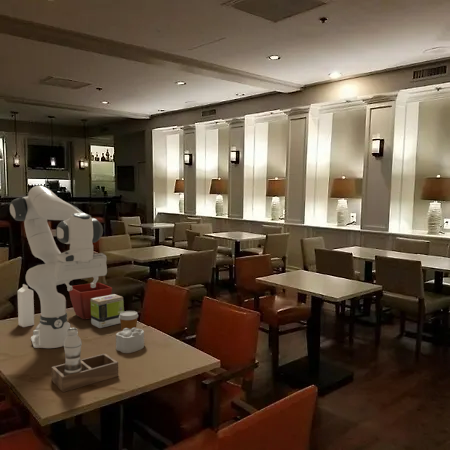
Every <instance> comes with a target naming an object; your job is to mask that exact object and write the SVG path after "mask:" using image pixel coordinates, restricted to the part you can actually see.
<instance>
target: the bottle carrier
mask: <svg viewBox="0 0 450 450" xmlns="http://www.w3.org/2000/svg"><path fill="white" fill-rule="evenodd" d="M80 361H81V368H82V371H81V372H77V373H74V374H70V375H66V376H64V370H65V363H63V364H62V363H61V364H58V365H53V366H51V382H52V383H53V384H54V385H55V386H56V387H57V388H58V389H59V390H60V391H61V392H63V393H66V392H69V391H72V390H76V389H79V388H83V387H86V386H90V385H92V384H96V383H99V382H102V381H106V380H109V379H113V378H116V377H119V361H117V360H116V359H114V358H113V357H111V356H110V355H109V354H107V353H101V354H97V355H93V356H88V357H85V358H80Z"/></svg>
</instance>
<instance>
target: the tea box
mask: <svg viewBox="0 0 450 450" xmlns="http://www.w3.org/2000/svg"><path fill="white" fill-rule="evenodd" d="M124 301H125V300H124V297H123V296H122V295H118V294H115V293H111V295H106V296H101V297H96V298H91V318H90V323H91V325H93V326H94V327H96V328H99V329H102V328H106V327H110V326H115V325H118V324H121V323H120V318H119V315H120V313H121V312H124V311H125V307H124V305H125V304H124V303H125V302H124Z"/></svg>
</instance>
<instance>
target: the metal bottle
mask: <svg viewBox="0 0 450 450" xmlns="http://www.w3.org/2000/svg"><path fill="white" fill-rule="evenodd" d="M67 335H68V336H67V338H66V339H65V341H64V346H63V348H64V349H63V350H64V355H65V356H64V357H65V361H64V362H65V363H64V364H65V370H64V376H66V375H70V374H74V373H77V372H81V371H82V368H81V361H80V360H81V351H82V345H83V344H82V339H81V337H80V336H79V333H78V328H76V327H70V328H69V329H67Z"/></svg>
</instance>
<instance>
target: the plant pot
mask: <svg viewBox="0 0 450 450" xmlns="http://www.w3.org/2000/svg"><path fill="white" fill-rule="evenodd" d="M91 283H92V282H90V283H84V284H77V285H72V286H73V288H72V289H73V290H72V291H68V293H69V298H70V301H71V304H72V307H73V311H74V313H75V315H76V316H77V317H78V318H81V319H82V320H89V319H90V320H91V298H96V297H101V296H106V295H112V294H113V287H111V286H108V285H106V284H104V283H101V282H96V287H95V288H91V285H90V284H91Z"/></svg>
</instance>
